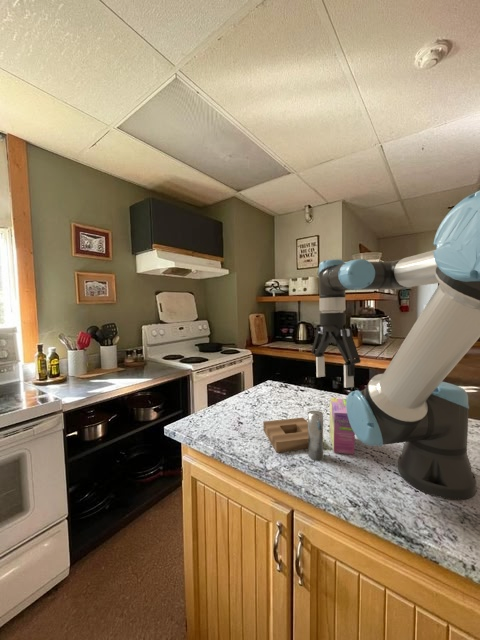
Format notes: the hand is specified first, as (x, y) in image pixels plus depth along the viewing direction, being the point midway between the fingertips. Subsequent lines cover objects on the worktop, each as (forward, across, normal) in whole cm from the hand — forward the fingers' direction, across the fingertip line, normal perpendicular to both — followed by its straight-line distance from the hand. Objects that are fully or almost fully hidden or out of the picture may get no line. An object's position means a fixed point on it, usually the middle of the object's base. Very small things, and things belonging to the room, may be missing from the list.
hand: (333, 381), depth 86 cm
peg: (+18, -6, +11) cm, 22 cm away
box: (+18, -4, 0) cm, 18 cm away
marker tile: (+18, +2, -3) cm, 18 cm away
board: (+18, +5, +12) cm, 22 cm away
